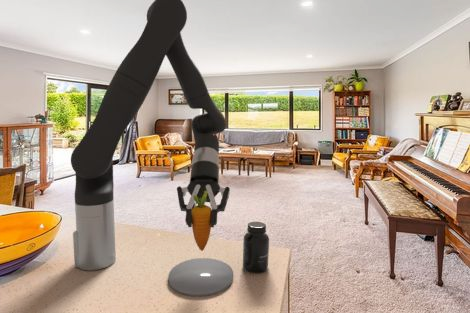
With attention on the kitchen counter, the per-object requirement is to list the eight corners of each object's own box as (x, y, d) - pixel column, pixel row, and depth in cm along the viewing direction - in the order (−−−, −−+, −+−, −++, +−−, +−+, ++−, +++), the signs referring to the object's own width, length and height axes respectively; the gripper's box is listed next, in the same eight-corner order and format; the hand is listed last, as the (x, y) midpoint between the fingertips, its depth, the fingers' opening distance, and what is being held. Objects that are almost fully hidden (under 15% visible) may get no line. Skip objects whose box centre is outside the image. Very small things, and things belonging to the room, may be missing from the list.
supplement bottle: (266, 275, 73) (268, 230, 72) (240, 272, 74) (241, 228, 73) (269, 262, 80) (270, 221, 78) (245, 260, 81) (245, 219, 80)
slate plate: (161, 296, 64) (161, 292, 64) (175, 261, 80) (175, 257, 80) (233, 296, 64) (233, 292, 64) (233, 261, 80) (233, 258, 80)
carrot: (193, 256, 68) (192, 194, 66) (190, 247, 73) (189, 189, 71) (213, 253, 70) (213, 193, 68) (210, 245, 74) (209, 188, 72)
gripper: (177, 159, 76) (168, 219, 65) (231, 159, 76) (231, 219, 66) (180, 175, 82) (173, 232, 71) (231, 175, 82) (231, 232, 72)
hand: (201, 225), depth 68 cm, fingers closed on carrot, 4 cm apart
